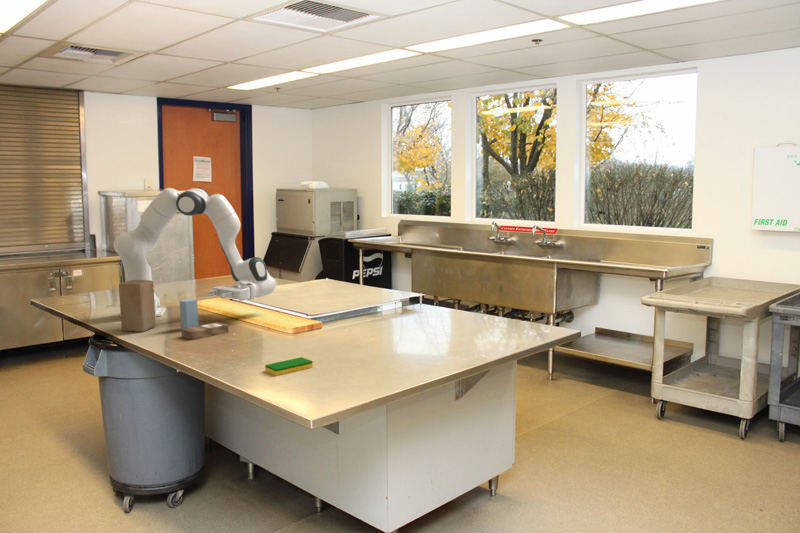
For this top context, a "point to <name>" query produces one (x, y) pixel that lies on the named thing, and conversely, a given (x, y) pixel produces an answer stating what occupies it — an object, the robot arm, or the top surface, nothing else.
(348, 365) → the top surface
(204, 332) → the plinth
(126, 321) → the block
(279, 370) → the dish sponge
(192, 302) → the post
